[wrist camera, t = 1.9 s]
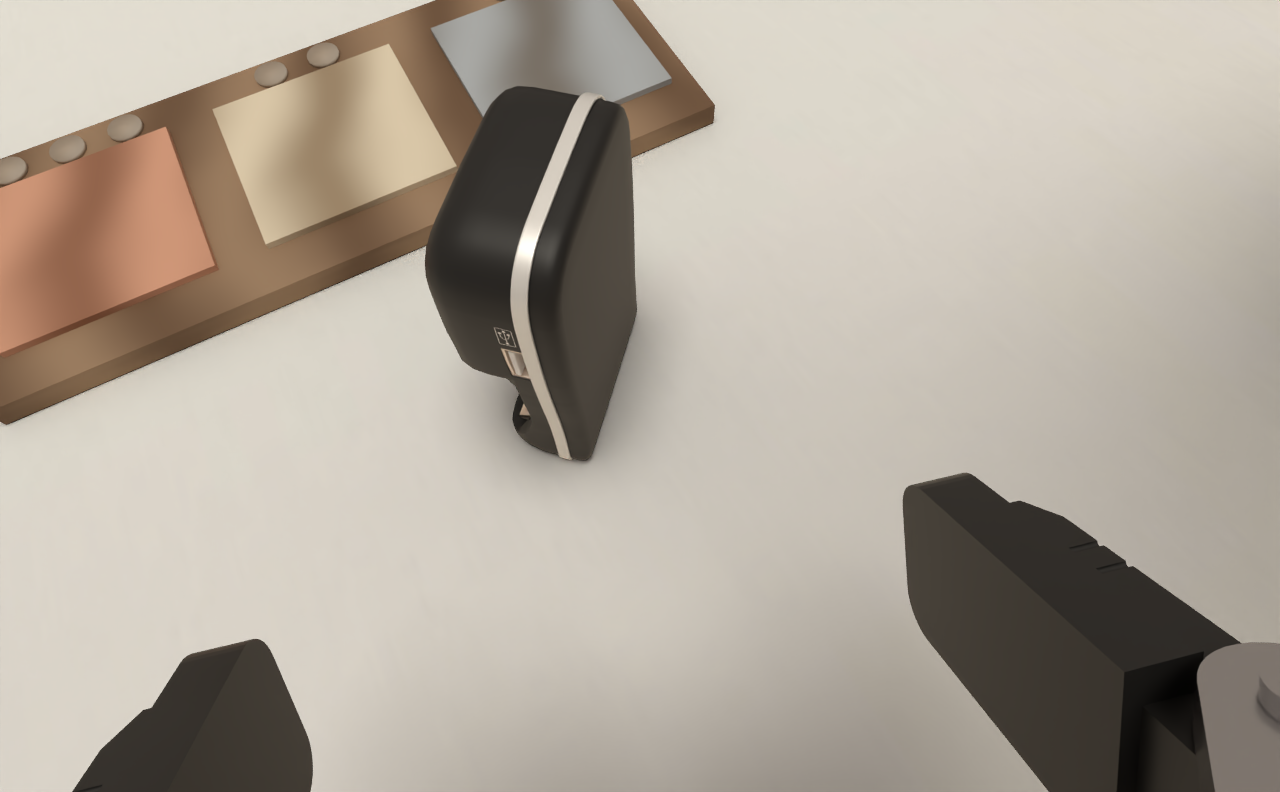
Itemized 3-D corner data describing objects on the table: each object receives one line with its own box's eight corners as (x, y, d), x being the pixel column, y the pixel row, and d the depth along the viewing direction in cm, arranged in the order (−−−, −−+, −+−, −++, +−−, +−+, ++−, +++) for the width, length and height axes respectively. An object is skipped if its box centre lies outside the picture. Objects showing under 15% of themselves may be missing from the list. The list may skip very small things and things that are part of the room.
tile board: (591, -37, 38) (588, -62, 36) (713, 122, 33) (715, 99, 32) (-38, 196, 32) (-65, 175, 31) (6, 424, 28) (-23, 410, 27)
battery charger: (547, 286, 30) (490, 41, 19) (640, 307, 29) (632, 67, 19) (487, 446, 27) (381, 261, 17) (589, 472, 27) (545, 298, 16)
